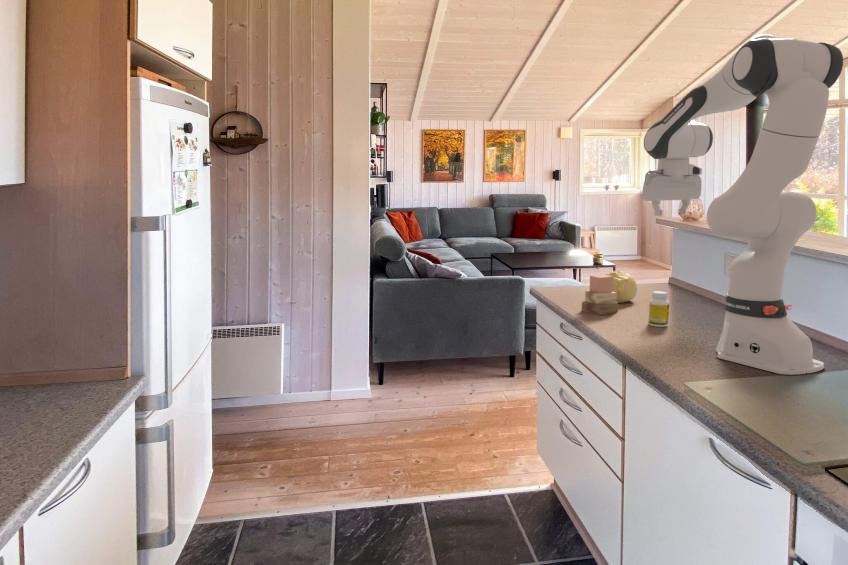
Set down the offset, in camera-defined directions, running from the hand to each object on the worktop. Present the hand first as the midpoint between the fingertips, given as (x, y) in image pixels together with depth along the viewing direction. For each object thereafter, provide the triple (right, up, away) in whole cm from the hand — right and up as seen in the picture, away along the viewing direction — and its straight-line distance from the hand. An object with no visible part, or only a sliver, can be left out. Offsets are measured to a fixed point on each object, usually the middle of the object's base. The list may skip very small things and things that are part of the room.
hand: (670, 215), depth 177 cm
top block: (-19, -27, +8) cm, 34 cm away
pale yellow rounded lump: (-8, -28, +24) cm, 38 cm away
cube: (-19, -24, +8) cm, 31 cm away
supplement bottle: (-8, -34, -9) cm, 36 cm away
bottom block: (-19, -31, +9) cm, 37 cm away
